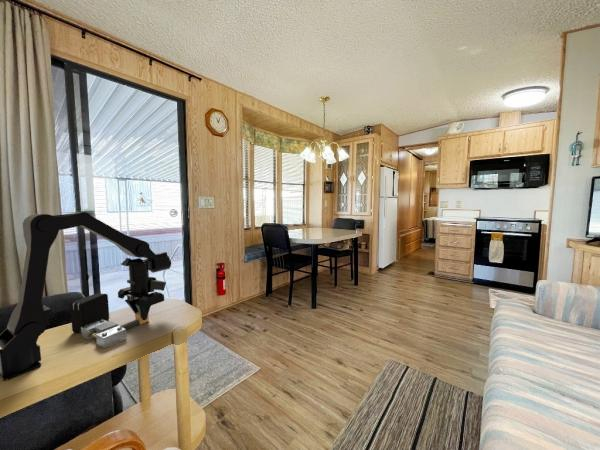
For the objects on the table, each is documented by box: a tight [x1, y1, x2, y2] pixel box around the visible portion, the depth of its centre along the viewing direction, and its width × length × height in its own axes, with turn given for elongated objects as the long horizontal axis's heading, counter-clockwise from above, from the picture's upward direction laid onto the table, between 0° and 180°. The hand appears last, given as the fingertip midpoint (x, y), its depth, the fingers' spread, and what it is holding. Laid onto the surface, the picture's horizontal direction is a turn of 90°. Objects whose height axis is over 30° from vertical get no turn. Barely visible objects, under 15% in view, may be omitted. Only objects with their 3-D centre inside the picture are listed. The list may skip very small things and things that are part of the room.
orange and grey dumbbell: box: [92, 312, 150, 339], centre depth 84 cm, size 16×4×4 cm, turn 151°
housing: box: [80, 319, 127, 349], centre depth 79 cm, size 6×14×4 cm, turn 61°
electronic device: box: [69, 293, 110, 333], centre depth 87 cm, size 4×10×10 cm, turn 174°
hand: (142, 318), depth 89 cm, fingers closed on orange and grey dumbbell, 3 cm apart
